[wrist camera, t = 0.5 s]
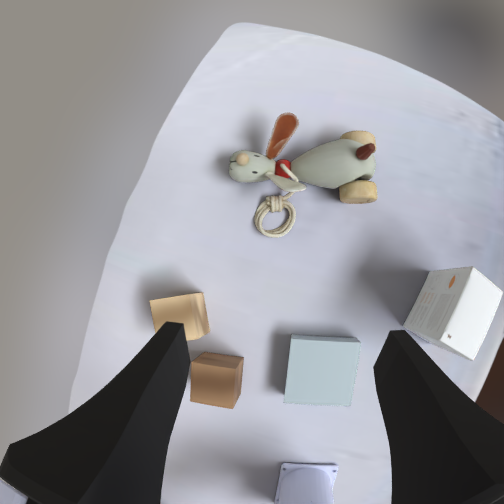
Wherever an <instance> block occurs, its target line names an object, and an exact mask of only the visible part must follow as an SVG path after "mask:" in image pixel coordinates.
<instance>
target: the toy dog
mask: <svg viewBox="0 0 504 504" xmlns="http://www.w3.org/2000/svg"><path fill="white" fill-rule="evenodd" d="M298 125H299V121H298V119H297V117H296V116H295V115H294V114H292V113H283V114H281V115H280V116H279V117H278V118H277V120H276V122H275V125H274V128H273V131H272V134H271V137H270V139H269V143H268V146H267V150H266V156H264V155H262V154H259V153H255V152H251V151H245V150H241V151H237V152H235V153H234V154H233V155H232V156H231V158H230V165H229V174H230V176H231V178H232V179H233V180H235V181H237V182H241V183H251V182H260V181H265V180H269V179H270V180H271V181H272V182H273V183H274V184H275V185H277V186H278V187H279V188H280V189H282V190H283V191H287V192H289V193H288V194H286V195H285V196H281V195H279V196H273V195H271V196H267V197H266V200H265V201H264V202H262V203H261V204H260V206H259V207H258V208H257V211H256V213H255V225H256V227H257V229H258V230H259V231H260V232H261V233H262V234H264V235H266V236H268V237H276V238H278V237H281V236H283V235H285V234H287V233H288V232H289V231H290V230H291V228H292V226H293V224H294V222H295V217H296V211H295V208H294V206H293V205H292V204H291V203H290V202H289V201H287V200H286V199H288V198H289V197H291V196H292V195H293V194H294V193H295V192H299V191H303V190H306V186H305V185H304V184H301V183H299V181H302V182H305V183H308V184H312V185H315V186H319V187H325V188H331V189H335V188H337V187H339V194H340V200H341V202H343V203H349V204H362V203H370V202H374V201H376V200H377V188H376V184H375V183H374V182H371V181H367V180H369V179H370V178H372V176H373V175H374V172H375V167H376V162H375V157H374V155H373V153H374V152H375V151H376V143H375V137H374V135H373V134H371V133H369V132H366V131H351V132H347V133H345V134H343V135H342V136H341V137H340V140H335V141H332V142H328V143H325V144H322V145H320V146H318V147H315V148H313V149H311V150H309V151H307V152H306V153H304V154H302V155H301V156H299V157H298V158H296V159H295V160H293V161H292V162H289V161H288V160H284V159H281V160H278V161H277V162H276V161H275V160H273V158H275V157H277V156H278V155H279V153H280V152H281V151H282V149H283V148H284V146H285V145H286V144H287V142H288V141H289V140H290V138H291V137H292V135H293V134H294V133H295V131H296V129H297V128H298ZM289 177H291V178H292V179H293V180H294V181H292V180H290V179H288V178H289ZM284 207H285V208H287V209H288V211H289V218H288V220H287V221H286V222H285V223H284V224H283V225H282V226H280V227H279V228H277V229H274V230H264V229H263V228H262V220H263V218H264V216H265V215H266V214H267V213H268V211H271V212H272V213H273V212H276V211H278V212H281V211H282V209H283V208H284Z"/></svg>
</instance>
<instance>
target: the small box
mask: <svg viewBox="0 0 504 504" xmlns="http://www.w3.org/2000/svg"><path fill="white" fill-rule="evenodd" d="M502 294H503V291H502V290H500V289H499V288H498V287H497V286H496V285H495V284H493V283H492V282H491V281H490V280H489V279H488V278H486V277H485V276H484V275H483V274H482V273H480V272H479V271H478V270H477V269H475V268H474V267H472V266H471V267H463V268H454V269H446V270H437V271H430V272H429V274H428V276H427V279H426V281H425V283H424V285H423V287H422V289H421V291H420V294H419V296H418V298H417V300H416V302H415V304H414V306H413V308H412V310H411V311H410V313H409V315H408V317H407V319H406V321H405V323H404V324H403V327H404V328H406V329H408V330H409V331H411V332H413V333H414V334H416V335H418V336H419V337H421V338H423V339H424V340H426V341H428V342H429V343H431V344H433V345H435V346H438V347H440V348H442V349H445V350H447V351H449V352H452V353H454V354H457V355H459V356H461V357H464V358H466V359H469V360H471V361H473V360H474V359H475V357H476V355H477V353H478V351H479V349H480V347H481V344H482V342H483V340H484V338H485V336H486V334H487V331H488V329H489V327H490V325H491V322H492V320H493V317H494V315H495V313H496V310H497V308H498V305H499V302H500V300H501V297H502Z"/></svg>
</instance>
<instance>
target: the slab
mask: <svg viewBox="0 0 504 504" xmlns="http://www.w3.org/2000/svg"><path fill="white" fill-rule="evenodd" d="M360 348H361V342H360V341H359V340H358V339H357V338H341V337H322V336H306V335H292V334H291V344H290V353H289V362H288V370H287V379H286V387H285V395H284V403H290V404H304V405H324V406H351V401H352V396H353V391H354V385H355V380H356V374H357V368H358V361H359V355H360Z"/></svg>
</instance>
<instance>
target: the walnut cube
mask: <svg viewBox="0 0 504 504" xmlns="http://www.w3.org/2000/svg"><path fill="white" fill-rule="evenodd" d="M243 360H244V357H237V356H229V355H222V354H215V353H209V352H204V353H203V354H201V355H200V356H199V357H197V358H196V359H195V360H193V361H192V362H191V392H190V401H192V402H197V403H201V404H207V405H212V406H218V407H223V408H230V409H233V408H234V406H235V404H236V402H237V400H238V398H239V396H240V394H241V384H242V372H243Z"/></svg>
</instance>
